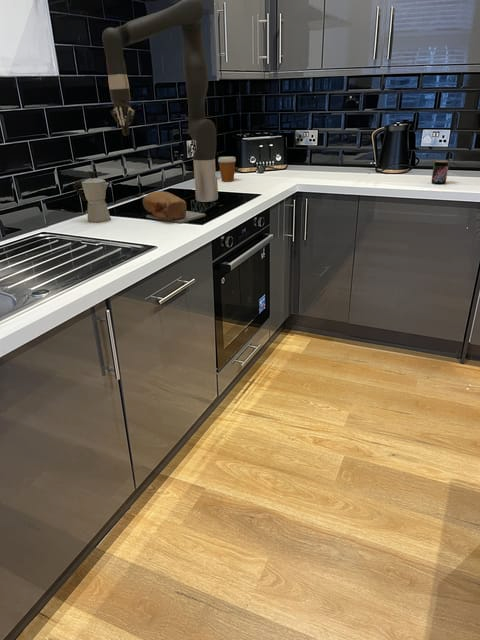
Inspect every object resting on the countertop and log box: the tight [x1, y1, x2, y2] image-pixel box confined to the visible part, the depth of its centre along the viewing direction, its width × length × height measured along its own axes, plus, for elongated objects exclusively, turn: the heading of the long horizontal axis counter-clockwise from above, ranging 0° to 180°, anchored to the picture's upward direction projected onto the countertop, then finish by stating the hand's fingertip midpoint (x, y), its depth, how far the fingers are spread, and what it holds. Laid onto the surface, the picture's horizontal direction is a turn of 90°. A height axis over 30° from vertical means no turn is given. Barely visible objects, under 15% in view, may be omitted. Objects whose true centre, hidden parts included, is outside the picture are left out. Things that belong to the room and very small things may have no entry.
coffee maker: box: [73, 170, 112, 224], centre depth 180 cm, size 15×9×18 cm, turn 74°
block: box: [142, 190, 187, 221], centre depth 183 cm, size 11×8×20 cm
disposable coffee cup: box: [217, 156, 237, 183], centre depth 255 cm, size 10×10×12 cm
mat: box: [145, 210, 207, 225], centre depth 186 cm, size 14×18×1 cm
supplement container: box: [430, 159, 450, 186], centre depth 234 cm, size 7×7×10 cm
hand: (126, 135), depth 195 cm, fingers closed
